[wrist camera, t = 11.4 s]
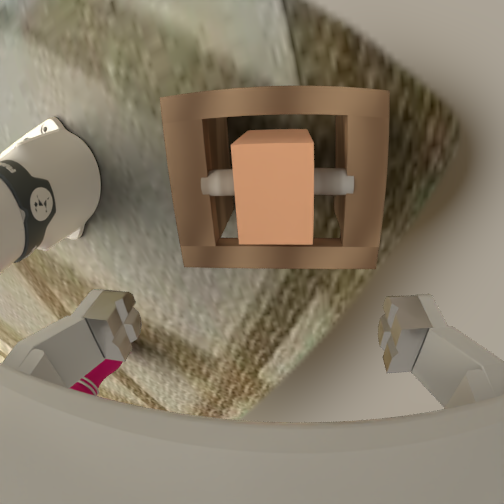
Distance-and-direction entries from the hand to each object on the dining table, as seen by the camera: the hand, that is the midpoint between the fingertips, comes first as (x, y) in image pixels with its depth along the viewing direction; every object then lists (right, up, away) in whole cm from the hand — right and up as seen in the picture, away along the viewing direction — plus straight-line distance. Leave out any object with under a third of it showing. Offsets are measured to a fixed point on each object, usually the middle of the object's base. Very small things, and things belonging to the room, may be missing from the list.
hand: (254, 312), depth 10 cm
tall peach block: (+2, +9, +17) cm, 19 cm away
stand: (+3, +13, +24) cm, 28 cm away
